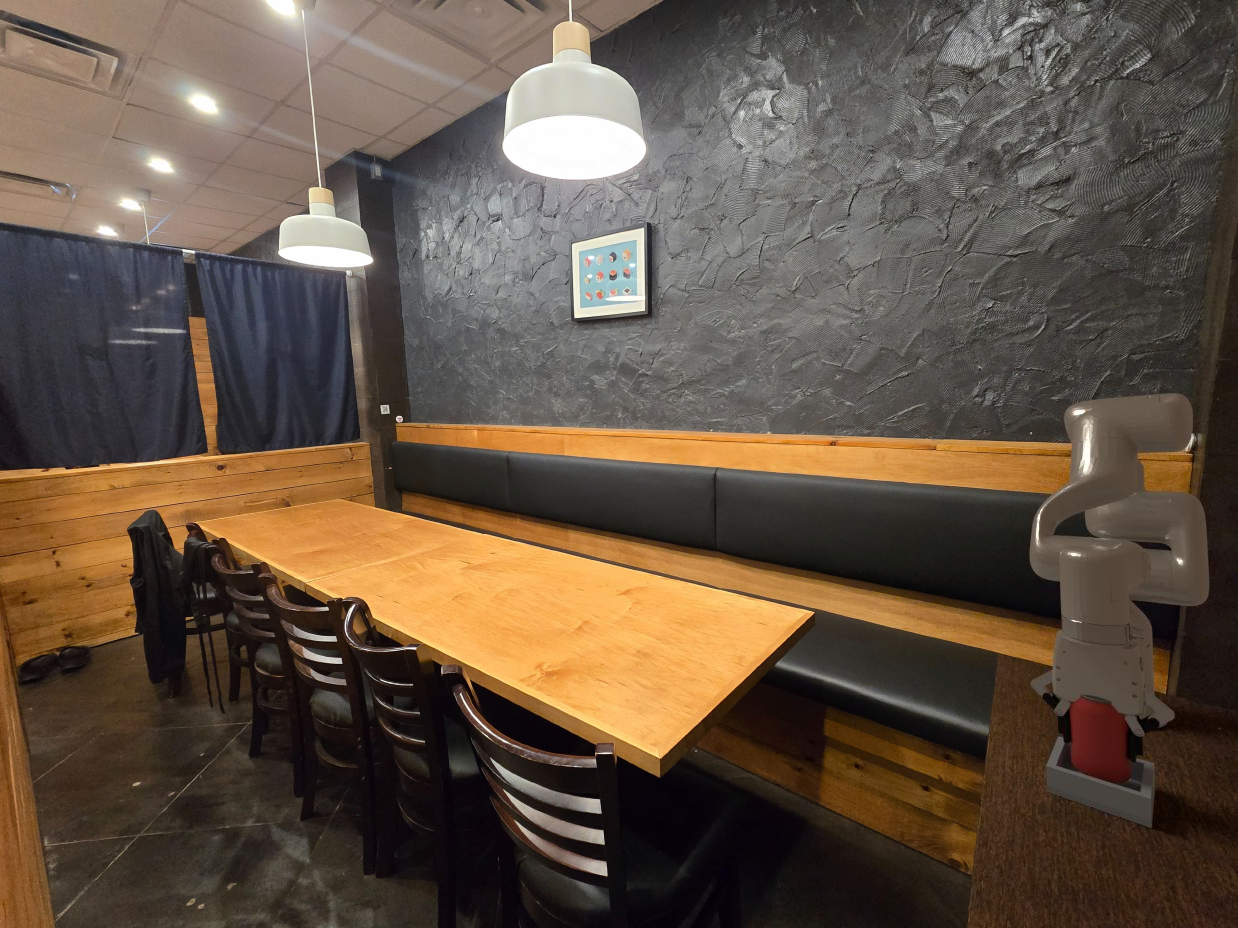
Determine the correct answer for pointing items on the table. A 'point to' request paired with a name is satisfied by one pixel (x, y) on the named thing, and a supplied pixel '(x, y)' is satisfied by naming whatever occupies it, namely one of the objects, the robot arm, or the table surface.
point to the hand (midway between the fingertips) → (1099, 747)
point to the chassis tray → (1103, 787)
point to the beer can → (1099, 740)
